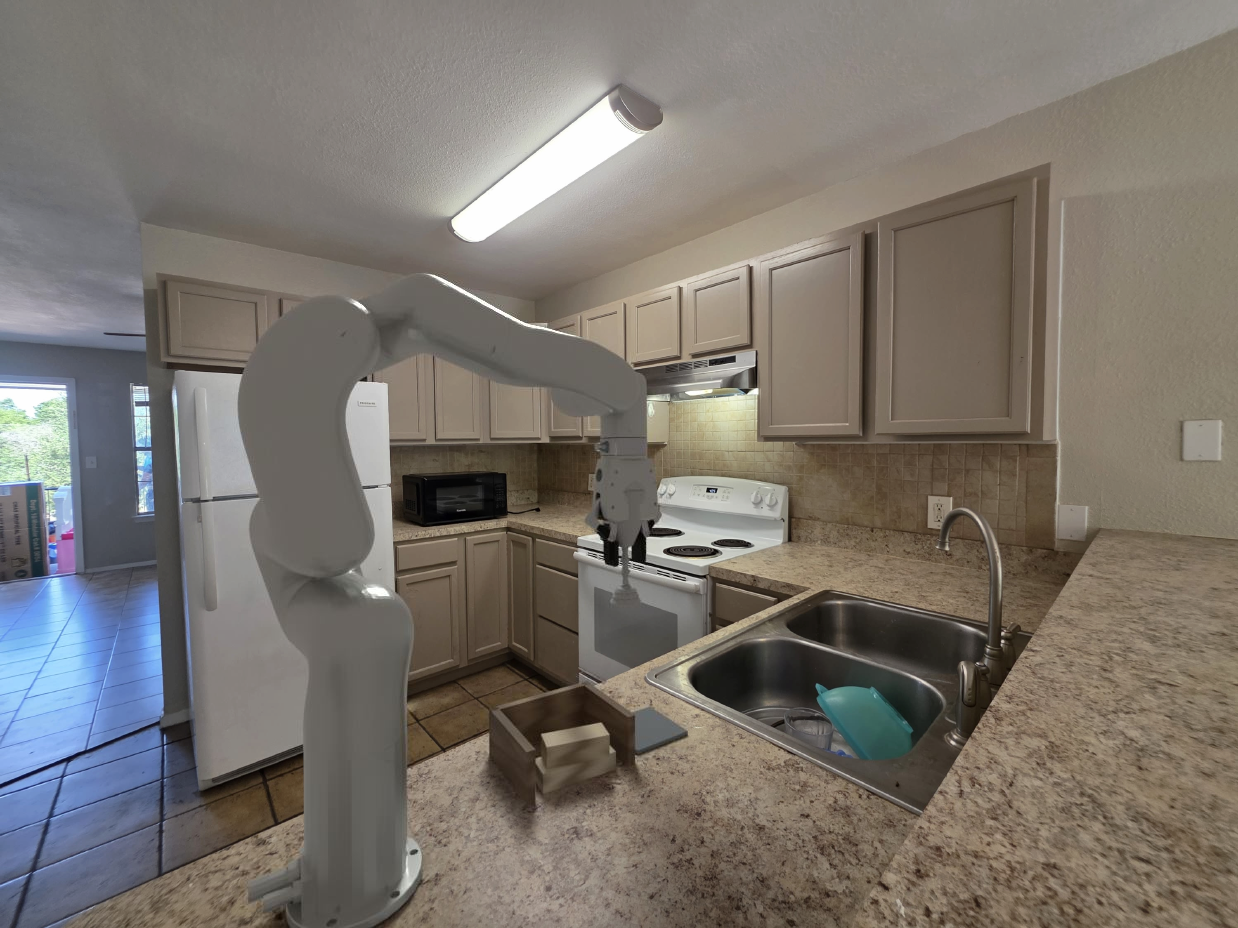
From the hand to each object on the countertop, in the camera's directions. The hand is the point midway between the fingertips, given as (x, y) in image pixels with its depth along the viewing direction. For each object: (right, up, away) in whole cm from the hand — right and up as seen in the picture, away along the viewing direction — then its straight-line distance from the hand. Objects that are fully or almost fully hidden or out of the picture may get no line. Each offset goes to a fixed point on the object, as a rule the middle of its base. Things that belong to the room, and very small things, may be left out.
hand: (625, 561), depth 82 cm
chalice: (0, -7, 0) cm, 7 cm away
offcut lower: (-7, -28, -10) cm, 31 cm away
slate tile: (+3, -28, +1) cm, 28 cm away
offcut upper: (-7, -25, -10) cm, 28 cm away
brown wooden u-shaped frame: (-10, -28, -6) cm, 30 cm away
